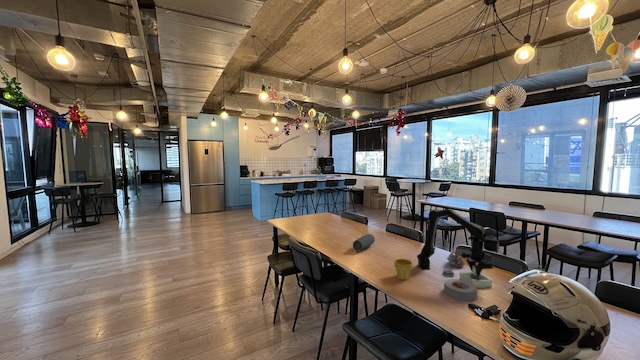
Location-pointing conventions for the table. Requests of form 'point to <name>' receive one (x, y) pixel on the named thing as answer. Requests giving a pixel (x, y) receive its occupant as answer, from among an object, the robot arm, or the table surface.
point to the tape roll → (460, 290)
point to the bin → (481, 283)
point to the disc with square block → (448, 273)
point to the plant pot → (403, 268)
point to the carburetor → (455, 260)
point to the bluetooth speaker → (363, 242)
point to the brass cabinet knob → (474, 273)
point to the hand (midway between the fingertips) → (475, 274)
